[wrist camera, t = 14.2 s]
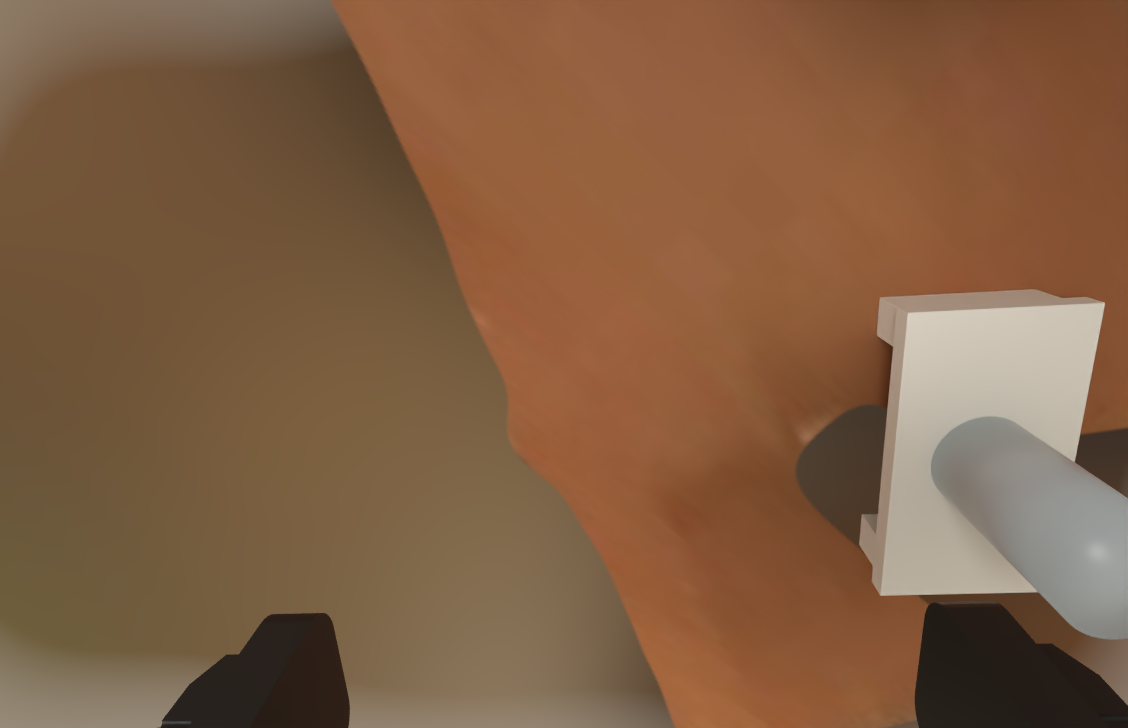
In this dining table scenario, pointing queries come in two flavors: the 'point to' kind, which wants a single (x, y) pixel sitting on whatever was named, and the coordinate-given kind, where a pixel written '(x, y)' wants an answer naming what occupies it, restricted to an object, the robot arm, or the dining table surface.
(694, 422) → the dining table surface
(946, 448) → the white rounded cylinder
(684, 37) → the dining table surface
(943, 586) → the white riser stand
